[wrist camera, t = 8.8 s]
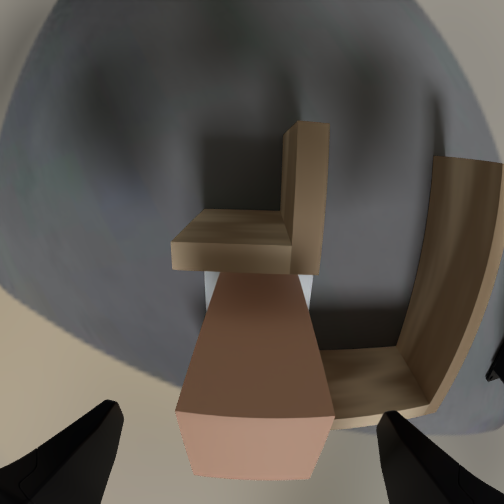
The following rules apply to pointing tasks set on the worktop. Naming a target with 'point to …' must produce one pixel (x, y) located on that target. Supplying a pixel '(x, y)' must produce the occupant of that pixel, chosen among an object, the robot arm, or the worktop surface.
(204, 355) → the peg
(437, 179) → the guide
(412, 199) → the worktop surface
